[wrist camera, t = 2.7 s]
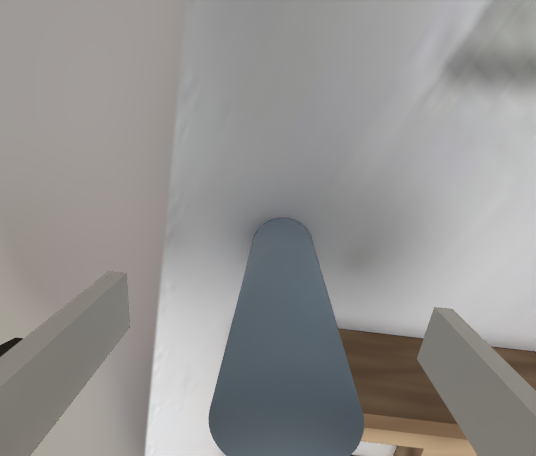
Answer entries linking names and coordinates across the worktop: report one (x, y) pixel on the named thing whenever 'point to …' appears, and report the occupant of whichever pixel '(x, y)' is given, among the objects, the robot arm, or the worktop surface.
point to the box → (410, 394)
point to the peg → (285, 358)
